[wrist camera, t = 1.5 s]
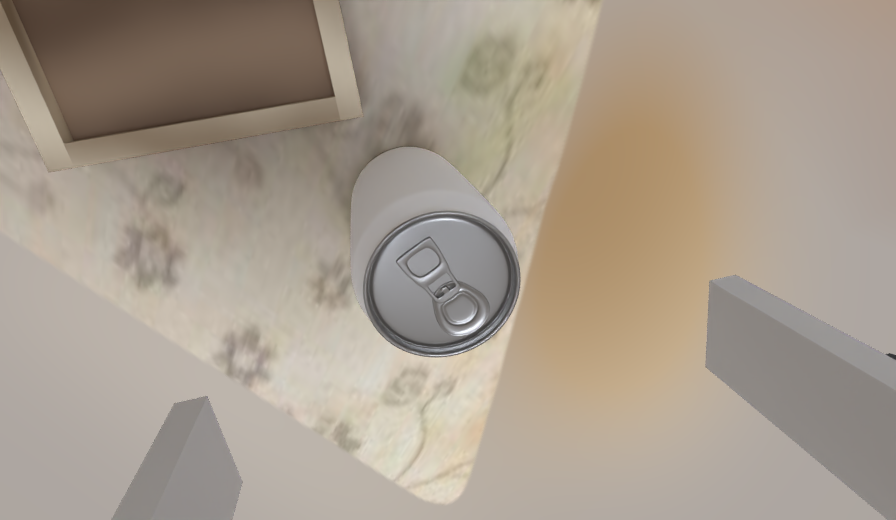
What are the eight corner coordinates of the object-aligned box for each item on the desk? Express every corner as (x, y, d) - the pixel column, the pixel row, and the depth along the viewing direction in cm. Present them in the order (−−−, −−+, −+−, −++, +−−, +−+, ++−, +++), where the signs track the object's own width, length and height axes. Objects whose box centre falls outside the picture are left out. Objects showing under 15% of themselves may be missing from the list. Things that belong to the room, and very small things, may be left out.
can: (397, 275, 30) (422, 397, 19) (326, 191, 27) (309, 276, 16) (485, 212, 30) (563, 300, 19) (421, 120, 27) (468, 158, 16)
